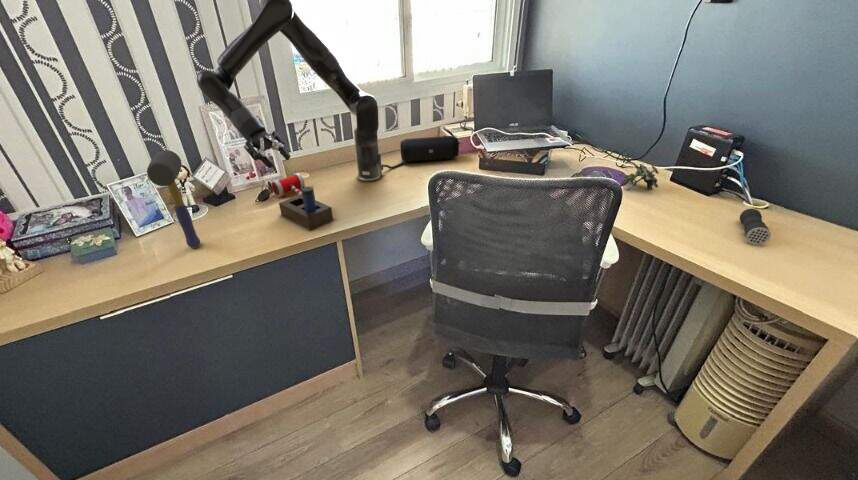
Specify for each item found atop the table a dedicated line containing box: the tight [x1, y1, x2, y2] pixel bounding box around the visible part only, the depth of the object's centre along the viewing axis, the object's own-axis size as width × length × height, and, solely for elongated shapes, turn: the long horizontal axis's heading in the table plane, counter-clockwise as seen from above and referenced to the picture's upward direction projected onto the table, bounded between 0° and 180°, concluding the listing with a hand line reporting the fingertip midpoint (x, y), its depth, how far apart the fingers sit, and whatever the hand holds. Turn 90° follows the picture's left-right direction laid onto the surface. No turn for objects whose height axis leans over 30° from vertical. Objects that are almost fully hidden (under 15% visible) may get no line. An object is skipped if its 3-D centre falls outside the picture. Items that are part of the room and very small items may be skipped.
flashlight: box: [739, 208, 772, 246], centre depth 127 cm, size 15×5×5 cm, turn 154°
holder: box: [278, 194, 334, 231], centre depth 147 cm, size 10×18×5 cm, turn 46°
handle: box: [300, 186, 317, 213], centre depth 142 cm, size 4×4×12 cm
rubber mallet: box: [146, 149, 201, 249], centre depth 126 cm, size 12×8×30 cm, turn 14°
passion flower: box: [619, 163, 659, 190], centre depth 155 cm, size 11×11×12 cm
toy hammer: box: [270, 172, 306, 198], centre depth 160 cm, size 23×12×6 cm, turn 43°
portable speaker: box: [399, 135, 460, 163], centre depth 188 cm, size 26×10×10 cm, turn 96°
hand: (280, 162), depth 141 cm, fingers open, 8 cm apart
